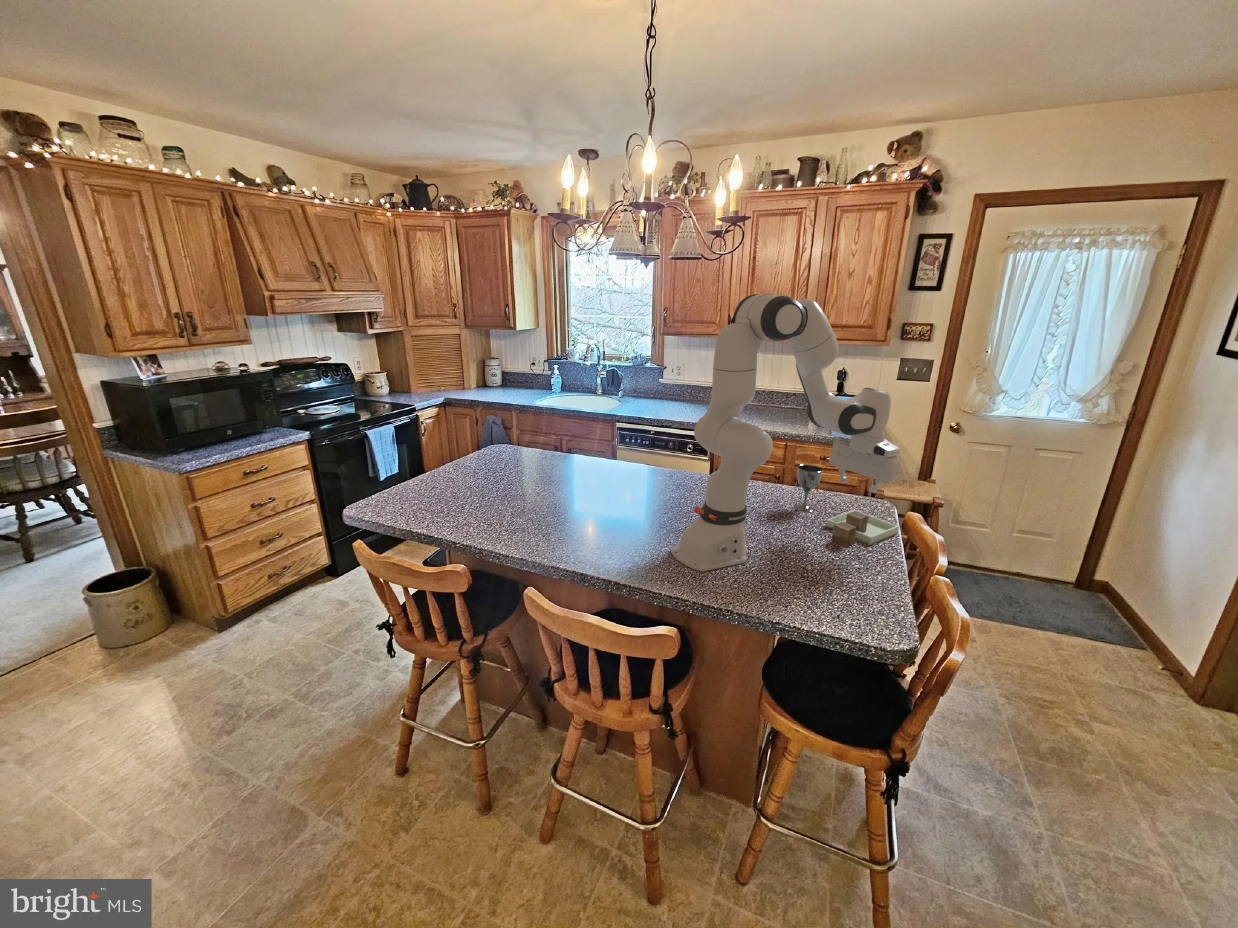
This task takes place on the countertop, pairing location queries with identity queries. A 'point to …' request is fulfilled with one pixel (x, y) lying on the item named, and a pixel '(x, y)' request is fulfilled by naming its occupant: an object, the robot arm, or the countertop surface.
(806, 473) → the wine glass
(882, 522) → the tray
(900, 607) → the countertop surface
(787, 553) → the countertop surface
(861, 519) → the block
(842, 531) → the block
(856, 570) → the countertop surface
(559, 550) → the countertop surface
